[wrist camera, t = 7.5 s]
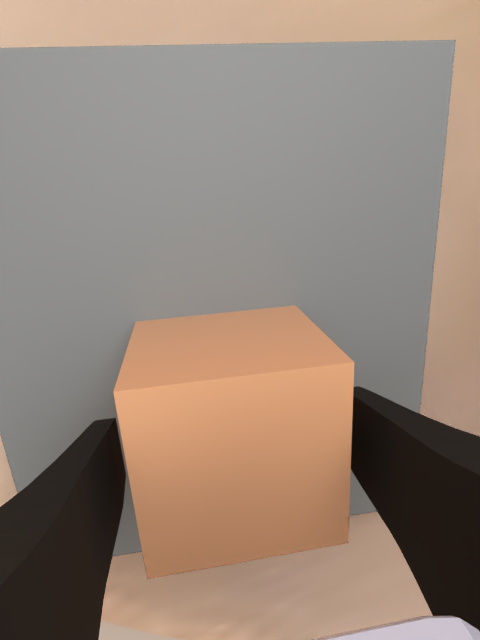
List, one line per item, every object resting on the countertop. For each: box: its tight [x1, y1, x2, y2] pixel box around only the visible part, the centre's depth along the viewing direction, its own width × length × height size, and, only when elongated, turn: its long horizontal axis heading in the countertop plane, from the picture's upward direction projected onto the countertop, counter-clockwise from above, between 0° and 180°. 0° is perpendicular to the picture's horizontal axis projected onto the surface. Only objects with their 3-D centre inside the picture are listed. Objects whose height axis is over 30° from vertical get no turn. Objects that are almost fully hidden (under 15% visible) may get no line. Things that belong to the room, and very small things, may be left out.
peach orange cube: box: [113, 305, 354, 579], centre depth 12 cm, size 6×6×5 cm
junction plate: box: [0, 40, 456, 557], centre depth 13 cm, size 16×18×5 cm
